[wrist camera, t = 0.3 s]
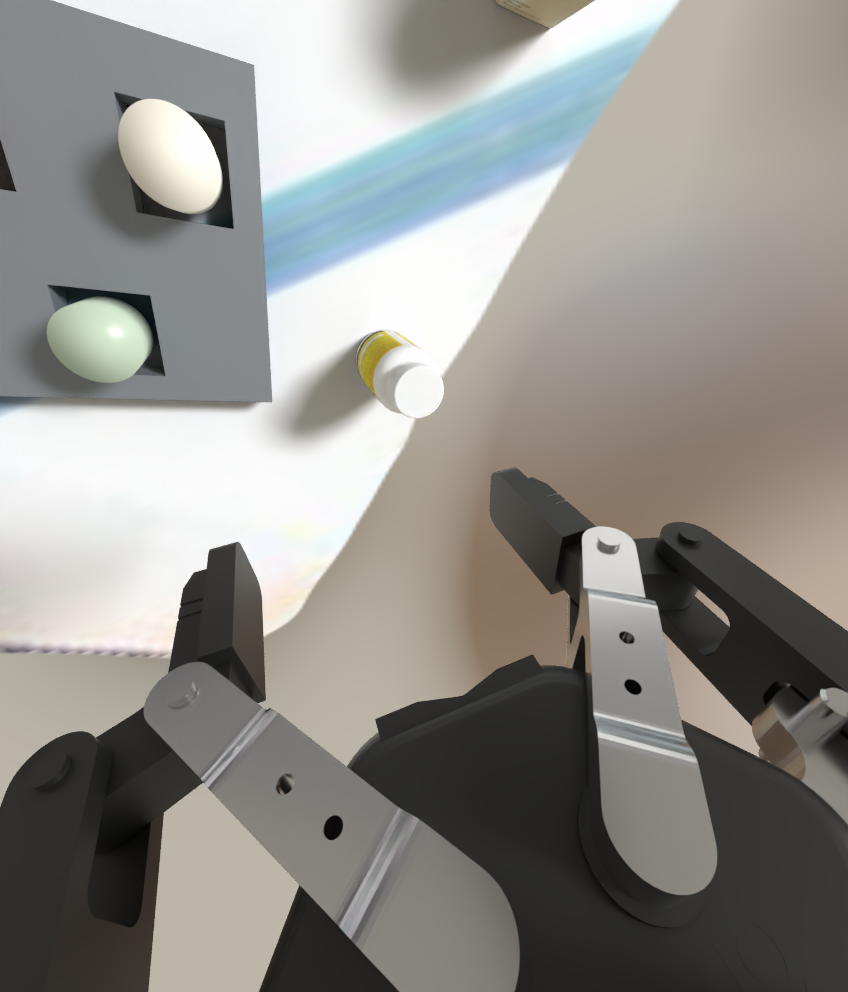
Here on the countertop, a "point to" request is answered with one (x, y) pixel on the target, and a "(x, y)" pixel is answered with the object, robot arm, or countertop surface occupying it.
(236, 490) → the countertop surface
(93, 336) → the sage button
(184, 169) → the cream piece
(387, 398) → the supplement bottle
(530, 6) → the box
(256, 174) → the panel
